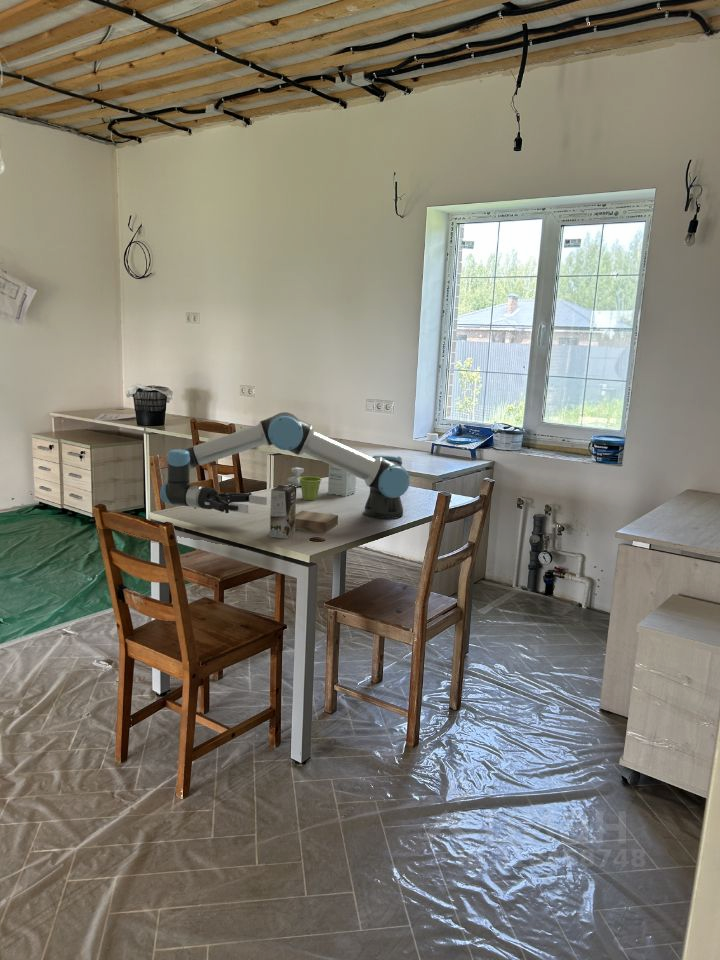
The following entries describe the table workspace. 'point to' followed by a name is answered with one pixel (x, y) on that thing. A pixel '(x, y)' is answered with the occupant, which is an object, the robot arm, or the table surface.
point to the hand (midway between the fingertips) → (257, 504)
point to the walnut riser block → (315, 521)
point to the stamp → (295, 480)
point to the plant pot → (310, 487)
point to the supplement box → (341, 482)
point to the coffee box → (283, 511)
